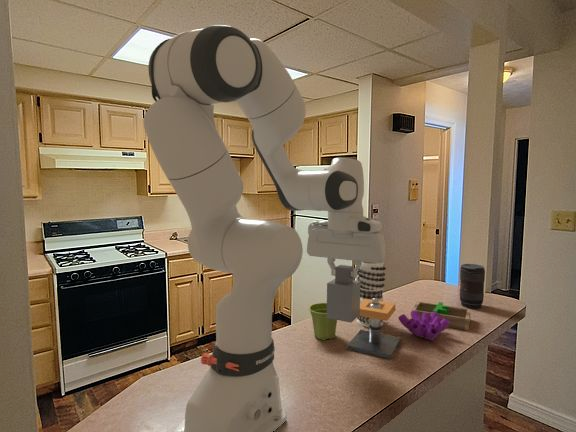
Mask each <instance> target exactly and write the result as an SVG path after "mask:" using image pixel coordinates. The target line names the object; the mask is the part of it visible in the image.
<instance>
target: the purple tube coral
mask: <svg viewBox="0 0 576 432" xmlns="http://www.w3.org/2000/svg"><path fill="white" fill-rule="evenodd" d="M410 316H411V318H412V319H411V318H408V316H407V315H406V314H401V315H399V316H398V321H399V322H400V323H401V325H402V326H403V327H405V328H406V329H407V331H409V332H410V333H412V335H415V336H417V337H421V338H424V339H427V340H435V339H436V338H437V337H438V335H439V334H440V333H442V332H444V331H446V329H447V328H449V327H448V325H449V324H450V322H449V321H448V320H447V319H445V318H444V319H443V320H442V318H440V317H439V314H438V313H436V312H431V314H430V316H429V313H423V314H422V320H421V318H420V315H419V313H418V311H412V310H411V311H410Z"/></svg>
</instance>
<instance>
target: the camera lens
mask: <svg viewBox="0 0 576 432" xmlns="http://www.w3.org/2000/svg"><path fill="white" fill-rule="evenodd" d="M459 270H460V271H459V280H460V282H459V283H460V284H459V301H460V304H461V306H462V307H464V308H466V309H471V310H472V309H475V310H476V309H478V310H479V309H481V308H482V305H483V304H484V297H485V293H484V292H485V291H484V289H485V279H486V269H485V266H483V265H480V264H476V263H463V264H461V265H460V268H459Z"/></svg>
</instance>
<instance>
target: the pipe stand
mask: <svg viewBox="0 0 576 432" xmlns="http://www.w3.org/2000/svg"><path fill="white" fill-rule="evenodd" d="M370 308H375V309H381V304H380V303H379V299H378V298H372V302H371V303H370ZM368 328H369V330H365V329H360V330H359V331H358V332H357V333H356V334H355V335H354V337H353V338H352V339H351V340H350V341H349V342H348V343H347V345H346V350H349V351H353V352H358V353H362V354H366V355H371V356H376V357H378V358H383V359H388V360H392V358H393V356H394V355H395V353H396V351H397V349H398V348H399V346H400V344H401V342H402V337H399V336H395V335H390V334H385V333H381V329H382V326H381V320H379V319H374V318H370V324H369V327H368Z"/></svg>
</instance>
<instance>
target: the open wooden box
mask: <svg viewBox="0 0 576 432" xmlns="http://www.w3.org/2000/svg"><path fill="white" fill-rule="evenodd" d="M437 304H438V303H429V302H424V301H416V302H415V304H414V306H413V307H412V309H411V311H418V313H419V315H420V318H421V320H422V314H423V313H429V316H430V314H431V312H433V310H434V309H435V307H436V306H437ZM448 306H449V310H448V315H445V314H439V313H438V314H439V317H440V318H442V320H443V319H444V318H445V319H447V320H448V321H449V322H450V324H449V325H448V327H447V328H452V329H458V330H463V331H469V330H470V323H471V310H472V308H466V307H464V308H463V307H457V306H450V305H448ZM410 319H412V318H410Z"/></svg>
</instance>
